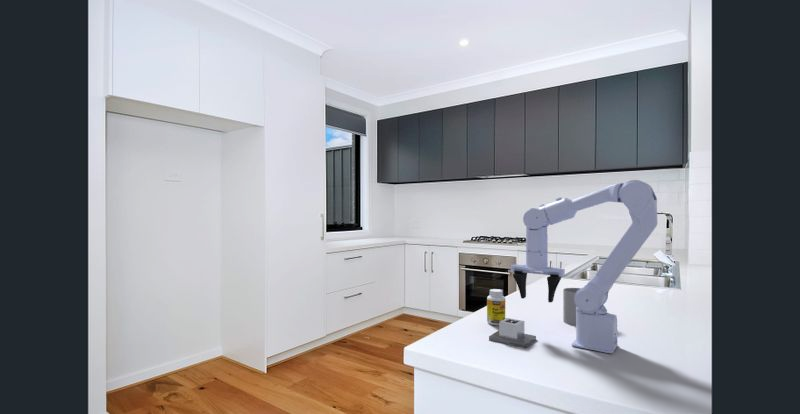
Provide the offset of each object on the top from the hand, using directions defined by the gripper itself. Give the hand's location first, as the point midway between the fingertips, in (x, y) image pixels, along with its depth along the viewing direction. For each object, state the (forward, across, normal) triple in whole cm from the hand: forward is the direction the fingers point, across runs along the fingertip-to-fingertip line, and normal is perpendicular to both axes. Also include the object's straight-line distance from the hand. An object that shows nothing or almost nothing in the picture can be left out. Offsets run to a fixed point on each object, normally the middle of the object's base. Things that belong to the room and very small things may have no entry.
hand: (536, 299), depth 111 cm
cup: (+10, +6, +20) cm, 23 cm away
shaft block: (+10, -4, -8) cm, 13 cm away
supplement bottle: (+10, -14, +4) cm, 18 cm away
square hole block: (+9, -4, -8) cm, 13 cm away
